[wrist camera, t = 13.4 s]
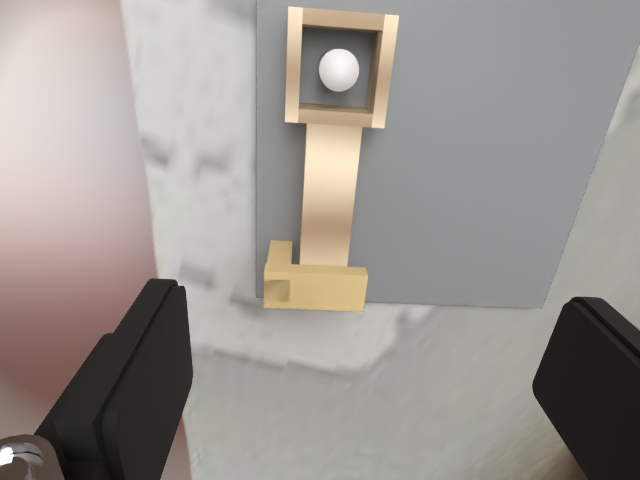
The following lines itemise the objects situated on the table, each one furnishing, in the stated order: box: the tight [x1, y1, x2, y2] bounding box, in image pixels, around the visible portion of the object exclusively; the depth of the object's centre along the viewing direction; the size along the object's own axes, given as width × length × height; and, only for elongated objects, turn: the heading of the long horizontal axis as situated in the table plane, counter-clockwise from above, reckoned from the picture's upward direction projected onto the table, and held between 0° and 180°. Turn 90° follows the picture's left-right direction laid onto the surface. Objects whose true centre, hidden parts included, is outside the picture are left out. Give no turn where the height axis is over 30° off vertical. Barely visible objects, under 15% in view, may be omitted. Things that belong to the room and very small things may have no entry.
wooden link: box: [285, 6, 399, 267], centre depth 24 cm, size 17×5×3 cm, turn 176°
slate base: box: [256, 0, 640, 312], centre depth 23 cm, size 22×27×6 cm
